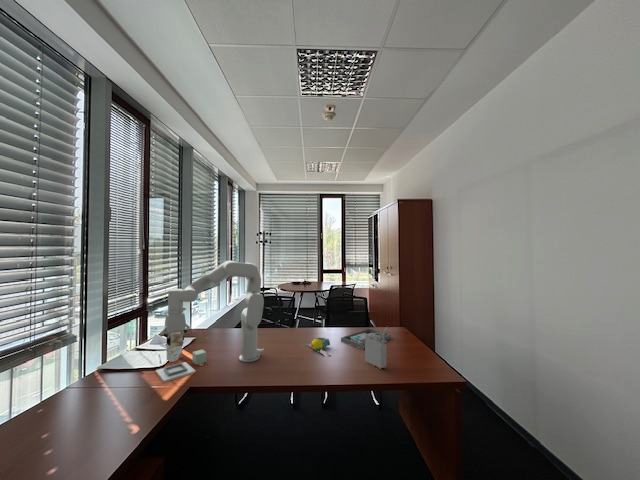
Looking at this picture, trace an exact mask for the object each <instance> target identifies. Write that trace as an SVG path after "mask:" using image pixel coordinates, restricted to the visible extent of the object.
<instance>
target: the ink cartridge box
mask: <svg viewBox="0 0 640 480" xmlns="http://www.w3.org/2000/svg"><path fill="white" fill-rule="evenodd" d="M165 346H166V349H165V351H166V361H167V360H168V361H169V362H168V363H174V362H176V361H178V360H179V359H181V358H183V345H182V346H178V347H174V348H171V347H170V346H169V345H168V344H167V342H166V345H165Z"/></svg>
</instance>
